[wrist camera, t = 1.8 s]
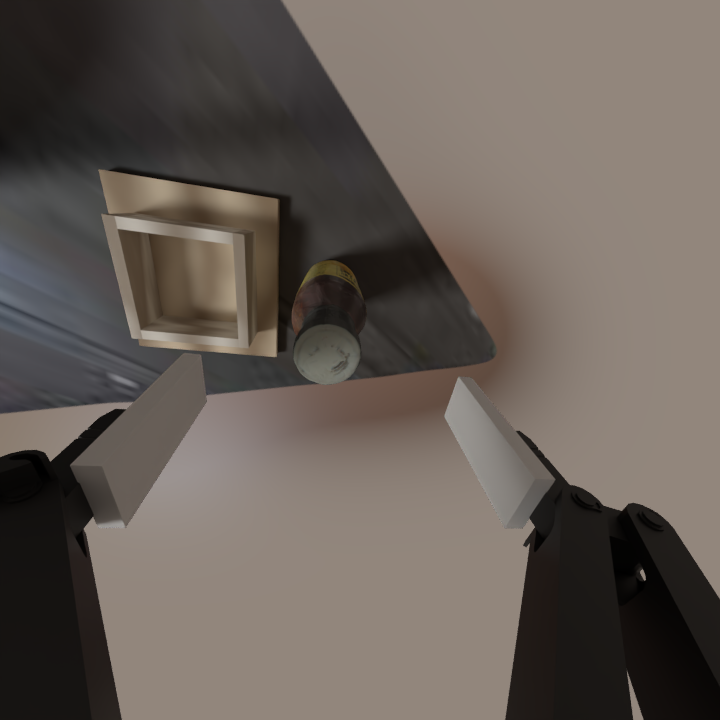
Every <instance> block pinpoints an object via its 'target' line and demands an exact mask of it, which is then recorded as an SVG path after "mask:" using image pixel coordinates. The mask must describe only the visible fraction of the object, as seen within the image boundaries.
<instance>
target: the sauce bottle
mask: <svg viewBox="0 0 720 720" xmlns="http://www.w3.org/2000/svg"><path fill="white" fill-rule="evenodd" d="M366 316H367V311H366V305H365V302H364V299H363V297H362V294H361V291H360V288H359V286H358V283H357V280H356V278H355V276H354V274H353V272H352V271H351V270H350V269H349V268H348V267H347V266H346V265H344V264H342V263H340V262H338V261H334V260H327V261H322V262H319V263H317V264H315V265H313V266H312V267H311V269H310V270H309V271H308V273H307V274H306V276H305V278H304V280H303V282H302V285H301V287H300V289H299V290H298V292H297V295H296V297H295V301H294V304H293V308H292V324H293V328H294V332H295V334H296V335H297V337H296V339H295V343H294V348H293V358H294V362H295V364H296V366H297V368H298V370H299V372H300V373H301V374H302V375H303V376H304V377H306V378H307V379H309V380H310V381H314V382H316V383H319V384H323V385H330V384H335V383H340V382H342V381H344V380H346V379H347V378H349V377H350V376H351V375H352V374H353V373H354V372H355V370H356V369H357V367H358V365H359V363H360V360H361V344H360V340H359V336H358V334H359V333H360V332H361V330H362V329H363V327H364V325H365V322H366Z"/></svg>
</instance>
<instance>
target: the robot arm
mask: <svg viewBox="0 0 720 720" xmlns="http://www.w3.org/2000/svg"><path fill="white" fill-rule="evenodd" d="M206 402H207V400H206V391H205V383H204V375H203V367H202V359H201V355H199V354H187V353H183V354H182V355H181V356H180V357H179V358H178V359H177V360H176V361H175V362H174V363H173V364H172V365H171V366H170V367H169V368H168V369H167V370H166V371H165V372H164V373H163V374H162V375H161V376H160V377H159V378H158V379H157V380H156V381H155V382H154V383H153V384H152V385H151V386H150V387H149V388H148V389H147V390H146V391H145V392H144V393H143V394H142V395H141V396H140V397H139V398H138V399H137V400H136V401H135V402H134V403H133V404H132V405H131V406H130V407H129V408H128V409H114V410H113V411H111V412H109V413H107V414H105V415H103V416H101V417H100V418H98V419H97V420H96V421H95V422H94V423H93V424H92V425H91V426H90V427H89V428H88V430H85V431H84V432H83V433H82V434H81V435H80V436H79V437H78V439H76V440H74V441H73V442H72V443H71V444H70V445H69V446H68V447H66V448H65V449H64V450H63V451H62V452H61V453H60V454H59V455H58V456H56V457H55V458H54V459H53V460H52V461H51V462H50V461H49V459H48V457H47V455H46V454H45V453H44V452H41V451H38V450H25V451H19V452H15V453H11V454H8V455H5V456H2V457H0V720H122V719H121V714H120V708H119V703H118V698H117V693H116V687H115V682H114V677H113V672H112V666H111V661H110V656H109V651H108V646H107V640H106V635H105V630H104V625H103V620H102V614H101V609H100V604H99V599H98V594H97V588H96V584H95V578H94V573H93V567H92V562H91V557H90V552H89V547H88V541H87V536H86V533H85V532H84V527H85V526H86V525H87V523H88V522H89V521H90V520H91V518H92V517H94V519H95V522H96V524H97V526H98V528H126V526H127V525H128V523H129V522H130V520H131V519H132V517H133V516H134V514H135V512H136V511H137V509H138V508H139V506H140V504H141V503H142V502H143V500H144V498H145V497H146V495H147V494H148V492H149V491H150V489H151V488H152V486H153V484H154V483H155V481H156V480H157V478H158V477H159V475H160V474H161V472H162V470H163V469H164V467H165V466H166V464H167V463H168V461H169V459H170V458H171V456H172V455H173V453H174V451H175V450H176V449H177V447H178V446H179V444H180V442H181V441H182V439H183V438H184V436H185V434H186V433H187V432H188V430H189V429H190V427H191V425H192V424H193V422H194V421H195V419H196V417H197V416H198V414H199V413H200V411H201V410H202V408H203V407H204V405H205V404H206ZM444 417H445V419H446V421H447V422H448V424H449V426H450V428H451V430H452V432H453V433H454V435H455V437H456V439H457V441H458V443H459V445H460V446H461V448H462V450H463V452H464V454H465V456H466V458H467V459H468V461H469V463H470V465H471V467H472V469H473V471H474V472H475V474H476V476H477V478H478V480H479V482H480V483H481V485H482V487H483V489H484V491H485V493H486V494H487V496H488V498H489V500H490V502H491V504H492V506H493V508H494V510H495V511H496V513H497V515H498V517H499V519H500V521H501V522H502V524H503V526H504V528H523V527H524V526H525V524H526V523H527V521H528V520H529V518H530V520H531V521H532V523H533V524H534V526H535V528H534V530H533V531H532V533H531V534H530V535H529V537H528V538H527V539H526V541H525V543H524V545H523V546H525V547H527V546H528V544H529V543H530V547H529V555H528V562H527V569H526V576H525V583H524V591H523V597H522V605H521V612H520V619H519V626H518V633H517V640H516V647H515V654H514V662H513V669H512V676H511V683H510V690H509V697H508V704H507V712H506V719H505V720H633V715H632V708H631V700H630V692H629V684H628V677H627V671H628V674H629V677H630V680H631V683H632V686H633V689H634V692H635V695H636V698H637V701H638V704H639V707H640V710H641V713H642V716H643V719H644V720H720V599H719V597H718V596H717V594H716V593H715V591H714V590H713V588H712V586H711V585H710V584H709V582H708V580H707V579H706V577H705V576H704V574H703V573H702V571H701V570H700V568H699V567H698V565H697V563H696V562H695V560H694V559H693V557H692V556H691V554H690V553H689V551H688V550H687V548H686V547H685V545H684V544H683V542H682V540H681V539H680V537H679V536H678V535H677V533H676V531H675V530H674V528H673V527H672V526H671V525H670V524H669V522H667V521H666V520H665V519H664V518H663V517H662V516H661V515H659V514H658V513H656V512H654V511H653V510H651V509H649V508H647V507H645V506H643V505H640V504H636V503H631V504H628V505H627V506H626V507H625V508H624V509H623V511H619V510H616V509H612V508H609V507H606V506H603V505H602V504H601V503H600V501H599V500H598V499H597V498H596V497H594V496H593V495H592V494H591V493H589V492H587V491H586V490H584V489H582V488H580V487H577V486H573V485H569V484H568V483H567V481H566V480H565V479H564V478H563V477H562V475H561V474H560V473H559V472H558V471H557V470H556V468H555V467H554V466H553V465H552V464H551V463H550V461H549V460H548V459H547V458H545V456H544V454H543V453H542V452H541V451H540V450H538V447H537V446H536V445H535V444H534V443H533V442H532V441H531V439H529V438H528V437H527V436H525V435H524V434H523V433H522V432H520V431H515V430H514V429H513V427H512V426H511V425H510V424H509V423H508V421H507V420H506V419H505V418H504V416H503V415H502V414H501V413H500V412H499V410H498V409H497V408H496V407H495V406H494V404H493V403H492V402H491V401H490V399H489V398H488V397H487V396H486V395H485V393H484V392H483V391H482V390H481V388H480V387H479V386H478V385H477V384H476V382H475V381H474V380H473V379H472V378H471V377H458V379H457V382H456V385H455V388H454V391H453V393H452V396H451V399H450V402H449V405H448V408H447V410H446V413H445V416H444ZM642 569H643V570H644V573H645V576H646V580H645V581H644V580H643V578H642V576H641V574H640V571H641V570H642ZM626 668H627V669H626Z"/></svg>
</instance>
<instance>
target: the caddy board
mask: <svg viewBox="0 0 720 720" xmlns="http://www.w3.org/2000/svg"><path fill="white" fill-rule="evenodd" d="M98 170H99V174H100V178H101V182H102V187H103V191H104V195H105V199H106V204H107V208H108V212H109V214H101V215H102V219H103V223H104V227H105V231H106V235H107V239H108V243H109V247H110V251H111V256H112V260H113V264H114V268H115V272H116V276H117V280H118V284H119V288H120V292H121V296H122V300H123V304H124V308H125V312H126V316H127V320H128V324H129V328H130V332H131V336H132V338H135V339H139V343H140V346H150V347H162V348H174V349H186V350H198V351H210V352H222V353H234V354H246V355H258V356H270V357H276V356H277V353H278V297H279V224H280V199H275V198H269V197H263V196H257V195H251V194H245V193H239V192H233V191H227V190H221V189H215V188H209V187H203V186H197V185H191V184H185V183H179V182H173V181H167V180H161V179H154V178H148V177H142V176H136V175H130V174H124V173H118V172H112V171H106V170H100V169H98Z"/></svg>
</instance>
